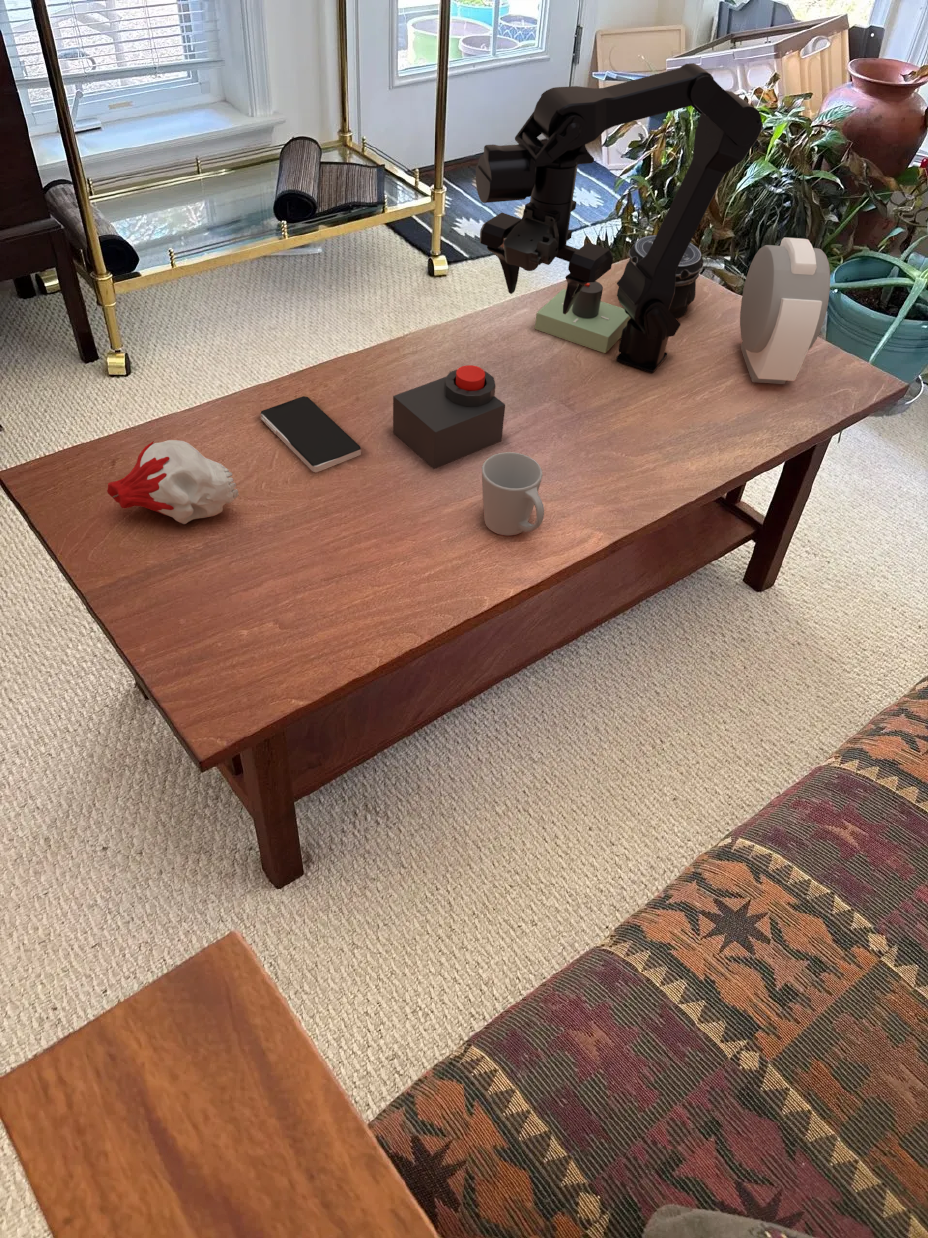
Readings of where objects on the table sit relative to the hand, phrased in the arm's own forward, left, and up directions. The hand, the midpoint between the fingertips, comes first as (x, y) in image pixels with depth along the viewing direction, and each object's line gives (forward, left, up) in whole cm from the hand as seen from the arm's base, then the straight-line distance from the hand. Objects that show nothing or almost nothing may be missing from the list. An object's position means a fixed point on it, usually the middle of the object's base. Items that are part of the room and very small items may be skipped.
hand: (538, 302), depth 139 cm
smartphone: (+18, +32, -12) cm, 39 cm away
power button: (+1, +18, -4) cm, 19 cm away
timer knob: (-1, -18, -9) cm, 20 cm away
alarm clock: (-30, -25, -12) cm, 41 cm away
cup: (-15, +33, -12) cm, 39 cm away
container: (-8, -33, -12) cm, 36 cm away
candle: (+23, +54, -12) cm, 60 cm away
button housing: (+2, +21, -12) cm, 25 cm away
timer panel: (-1, -18, -12) cm, 21 cm away
